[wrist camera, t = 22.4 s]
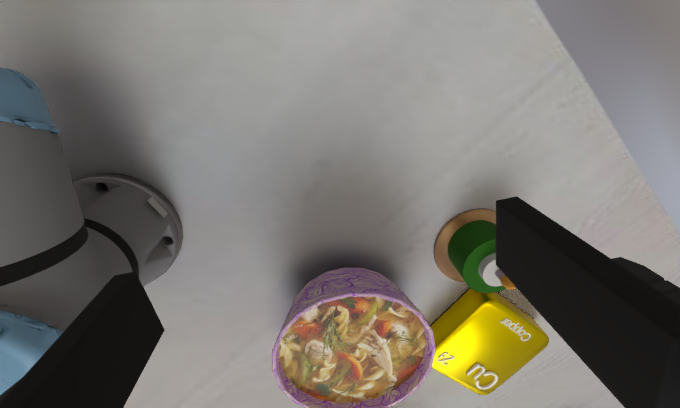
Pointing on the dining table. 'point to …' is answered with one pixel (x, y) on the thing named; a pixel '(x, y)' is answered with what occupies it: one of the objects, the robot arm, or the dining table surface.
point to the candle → (478, 257)
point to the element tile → (484, 341)
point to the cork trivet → (447, 233)
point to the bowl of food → (352, 343)
